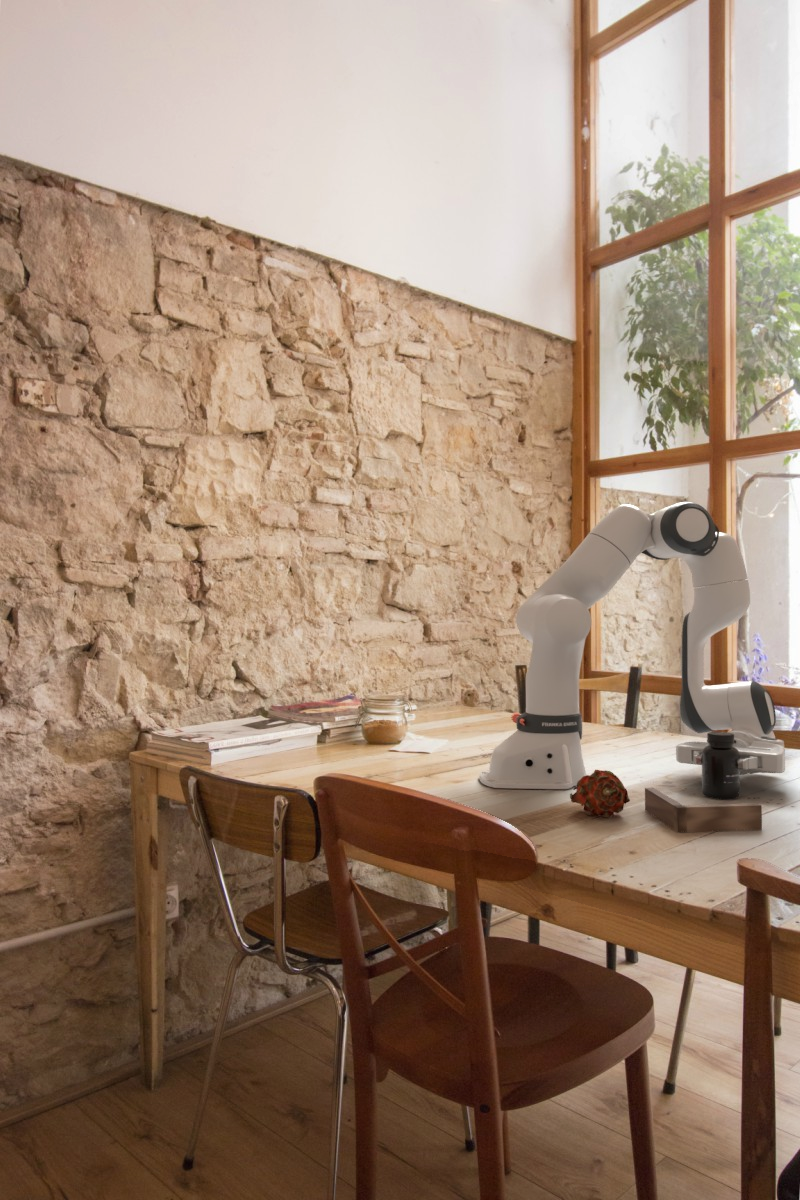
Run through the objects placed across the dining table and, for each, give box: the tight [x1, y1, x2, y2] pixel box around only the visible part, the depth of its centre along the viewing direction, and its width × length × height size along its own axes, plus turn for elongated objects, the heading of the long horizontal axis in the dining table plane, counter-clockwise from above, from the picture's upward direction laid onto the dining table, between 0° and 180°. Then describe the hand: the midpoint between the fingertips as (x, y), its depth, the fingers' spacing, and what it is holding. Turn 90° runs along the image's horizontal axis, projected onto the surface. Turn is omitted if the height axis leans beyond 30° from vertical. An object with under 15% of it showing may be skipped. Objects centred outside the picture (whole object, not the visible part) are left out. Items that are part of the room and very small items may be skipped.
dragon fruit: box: [569, 769, 631, 819], centre depth 151 cm, size 8×8×12 cm
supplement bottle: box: [701, 731, 741, 801], centre depth 164 cm, size 7×7×12 cm
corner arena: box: [644, 787, 763, 833], centre depth 146 cm, size 14×15×4 cm
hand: (719, 762), depth 163 cm, fingers closed on supplement bottle, 7 cm apart
